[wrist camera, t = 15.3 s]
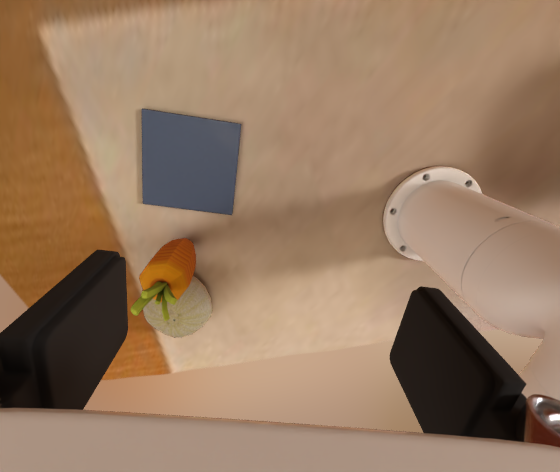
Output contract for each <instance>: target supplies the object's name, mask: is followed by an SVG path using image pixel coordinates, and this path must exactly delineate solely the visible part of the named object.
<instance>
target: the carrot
mask: <svg viewBox="0 0 560 472" xmlns="http://www.w3.org/2000/svg"><path fill="white" fill-rule="evenodd" d="M195 265H196V254H195V250H194V245H193V243H192V242H191V241H190V240H188V239H187V238H183V239H176V240H172V241H170V242H169V243H167V244H166V245H164V246H163V247H162V248H161V249H160V250H159V251H158V252H157V253H156V254H155V256H154V257H153V258H152V259H151V261H150V262H149V263H148V265H147V266H146V267H145V269H144V270H143V272H142V273H141V274H140V277H139V279H140V282H141V285H142V288H143V291H142V294H141V297H140V298H139V299H138V300H137V301H136V302H135V303H134V304H133V306H132V307H131V312H132V313H133V314H134V315H136V316H138V314H139V313H140V312H141V311H142V310H143V308H144V307H145V306H146V305H147V304H148V303H149V302H150V301H151V300H152V299H154V300H156V301H155V304H156V305H159V304H160V303H161V302H162V314H163V318H164V321H167V320H169V319H170V317H169V313H168V308H167V302H169V303H170V304H173V305H175V303H176V302H177V300H178V299H179V298H180V297H181V295H182V294H183V293H184V292H185V290H186V289H187V288H188V287H189V285H190V282H191V280H192V277H193V274H194V270H195Z"/></svg>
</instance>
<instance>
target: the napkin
mask: <svg viewBox="0 0 560 472" xmlns="http://www.w3.org/2000/svg"><path fill="white" fill-rule="evenodd" d="M240 132H241V124H238V123H232V122H225V121H219V120H213V119H206V118H200V117H193V116H187V115H180V114H174V113H167V112H161V111H154V110H148V109H142V179H143V204H150V205H158V206H166V207H173V208H181V209H189V210H197V211H204V212H212V213H220V214H228V215H232V213H233V203H234V192H235V182H236V172H237V162H238V152H239V142H240Z"/></svg>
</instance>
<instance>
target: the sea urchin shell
mask: <svg viewBox="0 0 560 472" xmlns="http://www.w3.org/2000/svg"><path fill="white" fill-rule="evenodd" d="M155 301H156V300H154V299H152V300H151V301H150V302H149V303H148V304H147V305H146V306H145V307H144V308H143V311H144V317H145V318H146V320H147V322H148V323H149V324H150V325H152V326H153V327H154V328H155V329H157V330H158V331H160V332H162V333H164V334H165V335H169V336H171V337H174V338H182V337H184V336H187V335H191V334H193V333H194V332H196V331H197V330H198V329H200V328H201V327H203V325H205V323H206V322H207V321H208V319H209V318H210V317H211V313H212V304H211V298H210V295H209V293H208V292H207V289H206V288H205V286H204V285H203V284H202V283H201V282H200V281H199V279H197V278H196V277H194V276H193V277H192V280H191V282H190V285H189V287H188V288H187V289H186V290H185V292H184V293H183V294H182V295H181V297H180V298H179V299H178V300H177V302H176V303H175V305H173V304H170V303H169V302H167V308H168V313H169V317H170V319H169V320H167V321H164V318H163V314H162V302H161V303H160V304H159V305H156V304H155Z"/></svg>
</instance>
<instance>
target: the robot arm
mask: <svg viewBox="0 0 560 472" xmlns="http://www.w3.org/2000/svg"><path fill="white" fill-rule="evenodd" d="M423 175H425V176H424V177H423ZM392 208H393V210H392V211H390V210H391V209H392ZM383 225H384V231H385V234H386V237H387V239H388V241H389V242H390V244H391V245H392V246H393V247H394V249H396V250H397V251H398V252H399V253H400V254H402V255H404V256H405V257H407V258H410V259H413V260H419V261H424V262H425V263H426V264H427V265H428V266H429V267H430V268H431V269H432V270H433V271H434V272H435V273H436V274H437V275H438V276H439V277H440V278H441V279H442V280H443V281H444V282H445V283H446V284H447V285H448V286H449V287H450V288H451V289H452V290H453V291H454V292H455V293H456V294H457V295H458V296H459V297H460V298H461V299H462V300H463V301H464V302H465V303H466V304H467V305H468V306H469V307H470V308H471V309H472V310H473V311H474V312H475V313H476V314H477V315H478V316H480V317H481V318H482V319H483V320H484V321H486V322H487V323H489V324H490V325H492V326H493V327H495V328H497V329H500V330H502V331H505V332H507V333H511V334H515V335H519V336H523V337H530V338H539V339H543V341H542V343H541V345H540V346H539V347H538V349H537V350H536V351H535V353H534V354H533V355H532V357H531V358H530V361H529V363H528V364H527V365H526V366H525V368H524V369H523V370H522V372H521V373H520V374H519V375H518V374H517V373H516V372H515V371H514V370H513V369H512V368H511V366H510V365H509V364H508V363H507V362H506V361H505V360H504V359H503V358H502V357H501V356H500V355H499V353H498V352H497V351H496V350H495V349H494V348H493V347H492V346H491V345H490V344H489V343H488V342H487V341H486V339H485V338H484V337H483V336H482V335H481V334H480V333H479V332H478V331H477V330H476V329H475V328H474V326H473V325H472V324H471V323H470V322H469V321H468V320H467V319H466V318H465V317H464V316H463V315H462V313H461V312H460V311H459V310H458V309H457V308H456V307H455V306H454V305H453V304H452V303H451V302H450V300H449V299H448V298H447V297H446V296H445V295H444V294H443V293H442V292H441V291H440V290H439V289H436V288H428V287H419V288H418V289H417V290H414V291H413V292H412V293H411V296H410V298H409V301H408V304H407V307H406V310H405V313H404V315H403V318H402V321H401V324H400V327H399V329H398V332H397V335H396V338H395V341H394V344H393V346H392V349H391V352H390V362H391V365H392V367H393V369H394V371H395V374H396V376H397V378H398V380H399V382H400V384H401V386H402V388H403V390H404V392H405V394H406V397H407V399H408V401H409V403H410V405H411V407H412V409H413V411H414V413H415V416H416V418H417V420H418V422H419V424H420V426H421V428H422V430H423V432H424V433H416V432H402V431H390V430H377V429H364V428H350V427H336V426H322V425H309V424H295V423H294V424H293V423H281V422H266V421H252V420H251V421H250V420H237V419H222V418H207V417H190V416H176V415H160V414H159V415H158V414H145V413H130V412H112V411H94V410H83V409H84V407H85V405H86V404H87V402H88V400H89V399H90V397H91V395H92V394H93V392H94V390H95V389H96V387H97V385H98V384H99V382H100V380H101V379H102V377H103V375H104V374H105V372H106V370H107V369H108V367H109V365H110V364H111V362H112V360H113V359H114V357H115V355H116V354H117V352H118V350H119V349H120V347H121V345H122V344H123V342H124V340H125V338H126V336H127V331H128V316H127V288H126V262H125V258H124V257H120V255H119V253H118V252H114V251H105V250H96V251H95V252H94V253H93V254H91V255H90V256H89V257H88V258H87V259H86V260H85V261H83V262H82V263H81V264H80V265H79V266H78V267H76V268H75V269H74V270H73V271H72V272H71V273H69V274H68V275H67V276H66V277H65V278H64V279H62V280H61V281H60V282H59V283H58V284H57V285H56V286H54V287H53V288H52V289H51V290H50V291H49V292H47V293H46V294H45V295H44V296H43V297H42V298H40V299H39V300H38V301H37V302H36V303H35V304H34V305H32V306H31V307H30V308H29V309H28V310H27V311H25V312H24V313H23V314H22V315H21V316H20V317H19V318H18V319H16V320H15V321H14V322H13V323H12V324H10V325H9V326H8V327H7V328H6V329H5V330H3V331H2V332H1V333H0V472H560V227H559V226H556V225H554V224H552V223H549V222H547V221H545V220H542V219H540V218H538V217H535V216H533V215H530V214H528V213H526V212H523V211H521V210H519V209H516V208H514V207H512V206H509V205H507V204H504V203H502V202H500V201H497V200H495V199H493V198H490V197H488V196H486V195H483V194H482V191H481V189H480V186H479V185H478V184H477V182H476V181H475V180H474V179H473V178H472V177H471V176H470V175H469V174H467V173H465V172H463V171H461V170H459V169H456V168H453V167H446V166H435V167H430V168H426V169H423V170H420V171H418V172H416V173H414V174H412V175H411V176H409V177H408V178H406V179H405V180H404V181H403V182H402V183H400V184H399V185H398V186H397V188H396V189H395V190H394V191H393V193H392V194H391V196H390V198H389V200H388V202H387V204H386V207H385V210H384V217H383ZM401 246H402V247H401Z"/></svg>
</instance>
